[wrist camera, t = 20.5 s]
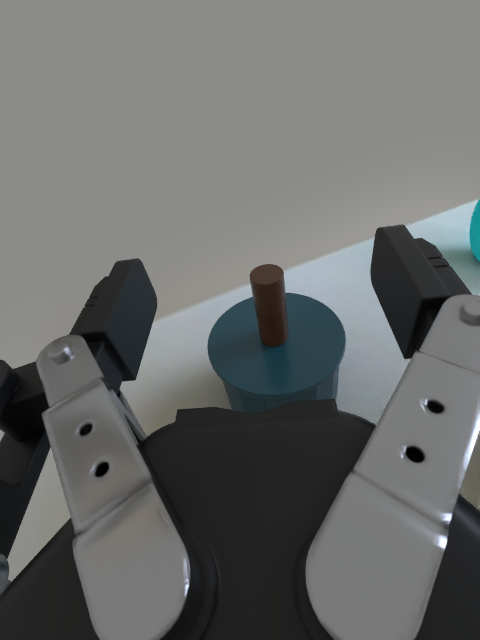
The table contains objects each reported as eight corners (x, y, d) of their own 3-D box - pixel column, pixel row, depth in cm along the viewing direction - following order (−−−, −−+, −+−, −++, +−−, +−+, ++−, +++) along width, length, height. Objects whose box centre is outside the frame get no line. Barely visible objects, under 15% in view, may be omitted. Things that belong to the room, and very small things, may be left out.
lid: (305, 286, 36) (303, 218, 30) (374, 369, 27) (389, 293, 22) (197, 324, 34) (174, 259, 29) (233, 425, 25) (210, 358, 20)
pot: (304, 336, 41) (303, 285, 35) (358, 412, 32) (366, 361, 27) (217, 369, 39) (201, 321, 34) (250, 457, 31) (236, 412, 26)
